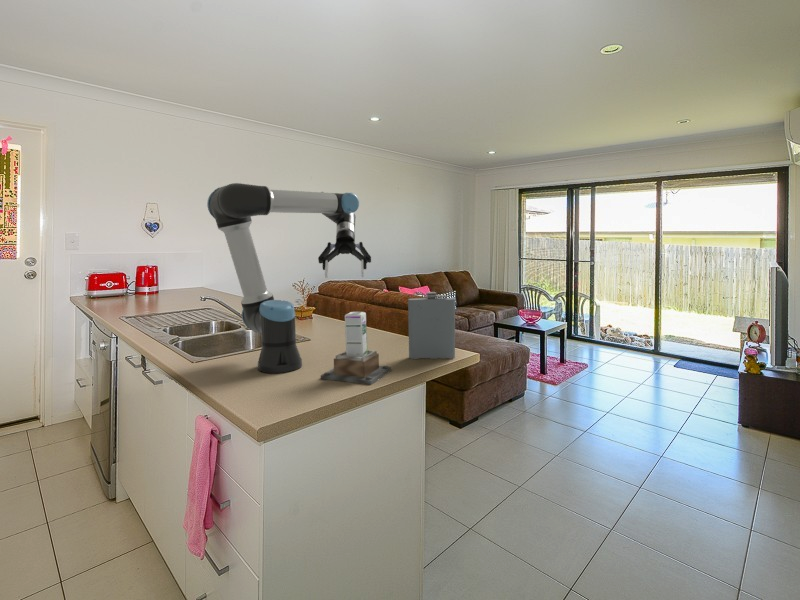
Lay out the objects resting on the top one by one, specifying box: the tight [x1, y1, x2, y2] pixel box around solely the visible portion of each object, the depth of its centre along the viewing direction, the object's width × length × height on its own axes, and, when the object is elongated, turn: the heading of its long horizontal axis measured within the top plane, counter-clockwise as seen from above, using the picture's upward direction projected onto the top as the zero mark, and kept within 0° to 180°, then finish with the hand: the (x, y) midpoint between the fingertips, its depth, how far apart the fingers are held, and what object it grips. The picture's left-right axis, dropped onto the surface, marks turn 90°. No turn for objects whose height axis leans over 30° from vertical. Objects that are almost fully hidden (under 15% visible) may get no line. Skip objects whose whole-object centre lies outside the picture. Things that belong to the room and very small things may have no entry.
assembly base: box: [320, 349, 392, 385], centre depth 141 cm, size 18×16×7 cm
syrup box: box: [344, 311, 368, 357], centre depth 140 cm, size 6×6×14 cm
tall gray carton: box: [407, 291, 456, 360], centre depth 161 cm, size 17×5×25 cm, turn 88°
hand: (344, 275), depth 160 cm, fingers open, 13 cm apart
